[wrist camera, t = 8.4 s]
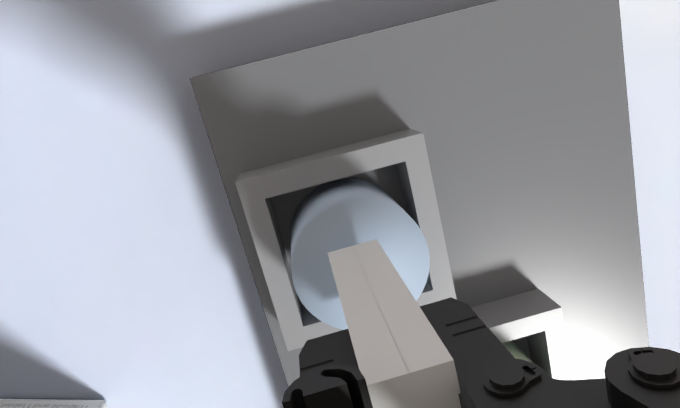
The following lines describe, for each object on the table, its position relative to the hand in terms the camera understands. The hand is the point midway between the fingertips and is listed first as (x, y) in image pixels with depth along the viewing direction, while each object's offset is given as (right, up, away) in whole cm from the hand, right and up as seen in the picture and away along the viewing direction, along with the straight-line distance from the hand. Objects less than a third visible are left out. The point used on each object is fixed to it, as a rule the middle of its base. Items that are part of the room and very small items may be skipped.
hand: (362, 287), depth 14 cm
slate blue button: (0, +1, +4) cm, 4 cm away
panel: (+5, -5, +9) cm, 11 cm away
